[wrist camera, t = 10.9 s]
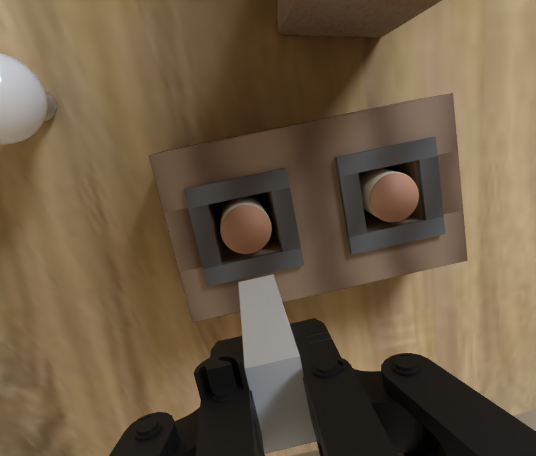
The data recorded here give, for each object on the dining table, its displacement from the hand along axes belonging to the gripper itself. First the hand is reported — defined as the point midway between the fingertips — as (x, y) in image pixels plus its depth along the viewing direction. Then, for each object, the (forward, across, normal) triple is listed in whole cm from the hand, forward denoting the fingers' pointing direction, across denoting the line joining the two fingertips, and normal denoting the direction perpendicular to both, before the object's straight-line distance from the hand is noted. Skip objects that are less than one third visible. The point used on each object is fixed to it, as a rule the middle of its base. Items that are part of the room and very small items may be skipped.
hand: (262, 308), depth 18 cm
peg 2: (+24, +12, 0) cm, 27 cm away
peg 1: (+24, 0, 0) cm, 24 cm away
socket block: (+24, +6, 0) cm, 25 cm away
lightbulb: (+25, -16, +13) cm, 32 cm away
